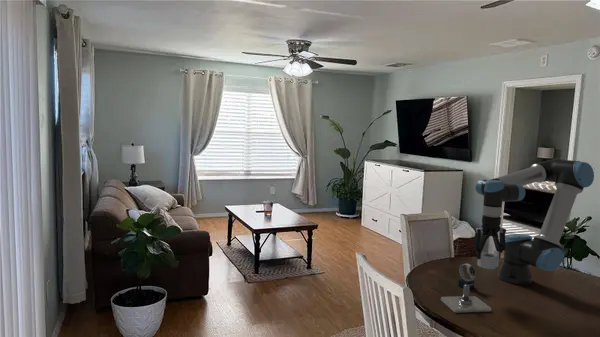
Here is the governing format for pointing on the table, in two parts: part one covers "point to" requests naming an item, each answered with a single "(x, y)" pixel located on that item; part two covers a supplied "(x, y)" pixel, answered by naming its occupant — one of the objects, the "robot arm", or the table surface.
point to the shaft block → (465, 302)
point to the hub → (489, 261)
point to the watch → (472, 273)
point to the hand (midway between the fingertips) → (487, 265)
